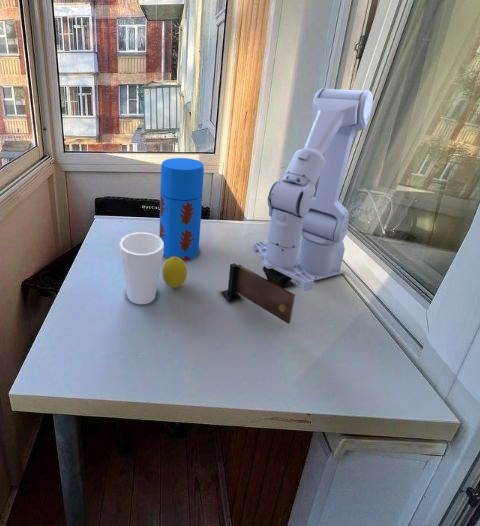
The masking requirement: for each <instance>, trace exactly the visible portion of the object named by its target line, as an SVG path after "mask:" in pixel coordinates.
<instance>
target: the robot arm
mask: <svg viewBox="0 0 480 526" xmlns="http://www.w3.org/2000/svg"><path fill="white" fill-rule="evenodd" d="M313 97H314V98H313V101H312V105H311V106H312V107H311V108H312V116H313V120H314V121H313V124H312V126H311V129H310V131H309V134H308V137H307V140H306V142H305V145H304V147H303V148H300V149H297V150H296V151H295V152H294V154H293V156H292V157H291V160H290V162H289V164H288V166H287V167H286V170H285V171H284V173H283V174H282V175H283V176H282V177H281V180H278V181H275V182H274V183H273V184H272V185H271V187H270V189H269V192H268V195H267V199H266V202H267V206H268V216H269V217H270V222H269V223H270V224H269V231H268V238H267V244H266V243H265V242H263V241H257V242H253V249H252V251H253V252H255V253H256V254H258V253H259V254H260V256H261V259H263V260H261V265H262V271H263V273H264V275H265V277H266V279H267V280H269V281H271V282H273V283H274V284H276V285H278V286H280V287H282V288H284V289H286V287H285V286H286V285H287V284H288V282H289V281H292V280H293V282H296V283H297V284H298V285H299V288H300V289H301V290H302V291H303V292H306V291H310V290H313V288H314V287H313V286H314V282H315V281H319V280H323V279H328V278H331V277H334V276H338V275H342V274H344V270H342V269H341V268H342V264H343V259H344V254H345V249H346V248H345V243H344V240H345V237H346V235H347V232H348V228H349V218H350V212H349V210H348V209H347V208H346V207H345V205H343V204H342V203H341V202H340V201H339V199H340V194H341V191H342V186H343V182H344V178H345V175H346V170H347V165H348V162H349V158H350V154H351V149H352V146H353V141H354V138H355V136H356V134H357V132H359V131H365V130H366V128H367V126H368V123H369V120H370V116H371V112H372V108H373V99H374V97H373V93H372V92H371V91H370V90H369V89H366V90H355V89H336V88H326V87H321V88H320V89H318V91H317V92H316V93H315V95H314V96H313ZM323 155H324V156H323ZM316 184H317V187H316ZM315 187H316V188H315ZM314 195H315V196H314Z"/></svg>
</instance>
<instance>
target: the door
mask: <svg viewBox="0 0 480 526" xmlns="http://www.w3.org/2000/svg"><path fill="white" fill-rule="evenodd" d="M236 265H237V266H238V272H237V282H236V291H235V292H237V293H238V294H239V295H240V296H241V297H244V298H245V299H246V300H249V301H250V302H252V303H254V304H255V305H256V306H258V307H260V308H261V309H263V310H265V311H267V312H268V313H270V314H271V315H273V316H275V317H276V318H277V319H279V320H281V321H283V322H284V323H286V324H287V325H289V324H291V322H292V316H293V310H294V305H295V297H296V294H295V293H293V292H291V291H290V290H287V289H286V288H282V287H280V286H278V285H276V284H274V283H273V282H271V281H269V280H267V278H265V277H263V276H261V275H259V274H258V273H256V272H254V271H252V270H250V269H249V268H246V267H245V266H243V265H241V264H236Z"/></svg>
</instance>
